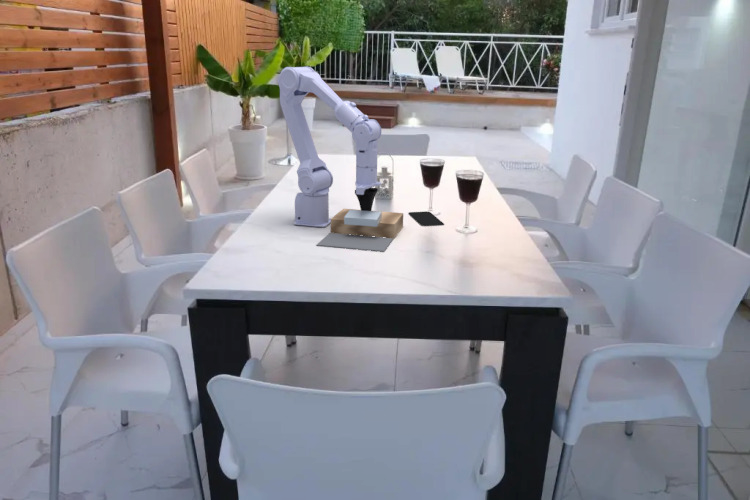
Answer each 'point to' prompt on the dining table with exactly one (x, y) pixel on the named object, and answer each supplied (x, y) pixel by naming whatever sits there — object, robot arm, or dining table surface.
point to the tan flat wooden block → (385, 228)
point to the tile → (363, 218)
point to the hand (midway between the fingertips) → (366, 214)
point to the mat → (355, 242)
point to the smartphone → (425, 219)
